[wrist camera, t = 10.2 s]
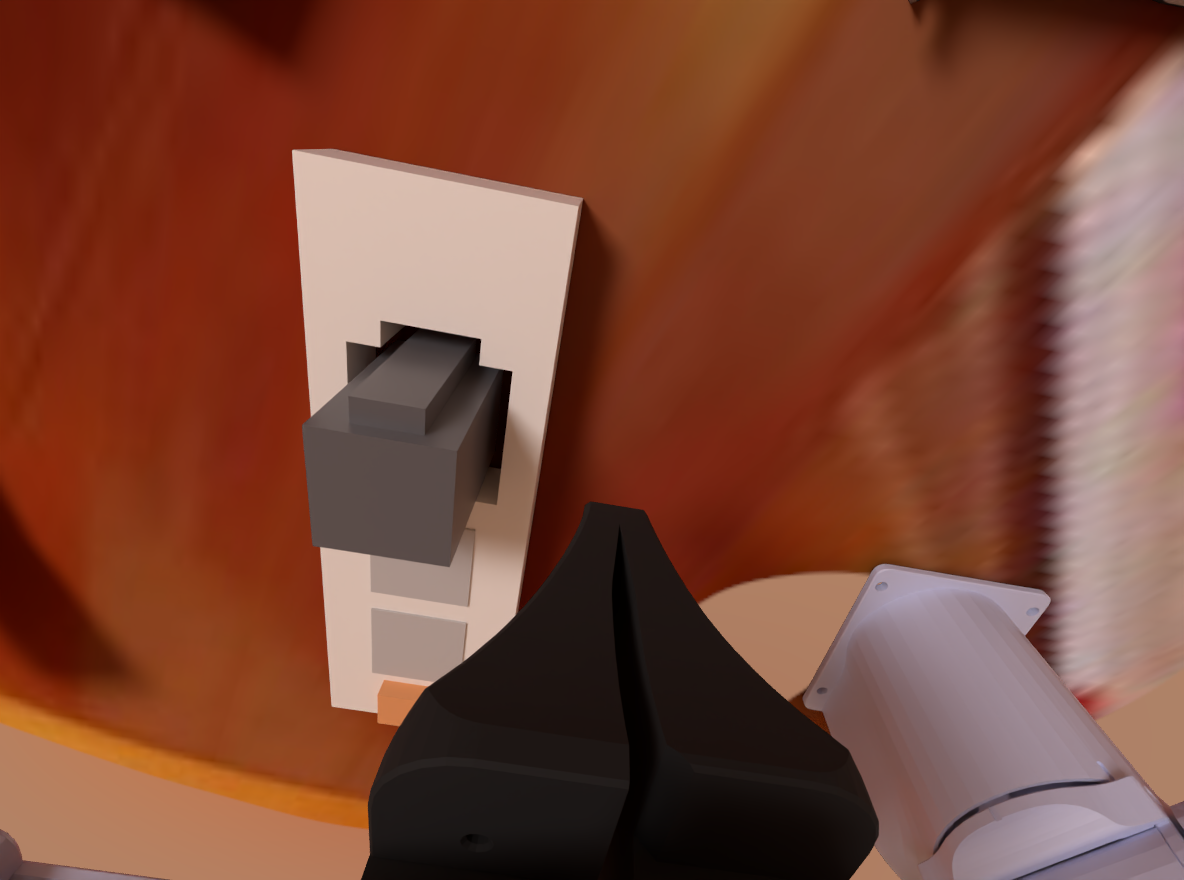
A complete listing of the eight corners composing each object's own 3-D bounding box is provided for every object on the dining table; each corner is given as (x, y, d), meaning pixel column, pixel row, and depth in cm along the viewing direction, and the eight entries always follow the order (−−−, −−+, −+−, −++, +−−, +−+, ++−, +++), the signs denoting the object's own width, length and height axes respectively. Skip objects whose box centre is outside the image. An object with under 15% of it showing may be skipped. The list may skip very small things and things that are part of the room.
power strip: (497, 743, 32) (485, 804, 29) (355, 723, 31) (329, 783, 28) (583, 198, 18) (576, 209, 15) (332, 149, 17) (276, 150, 15)
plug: (495, 450, 22) (450, 567, 16) (396, 434, 22) (312, 545, 16) (506, 337, 20) (458, 424, 14) (397, 318, 20) (299, 396, 14)
